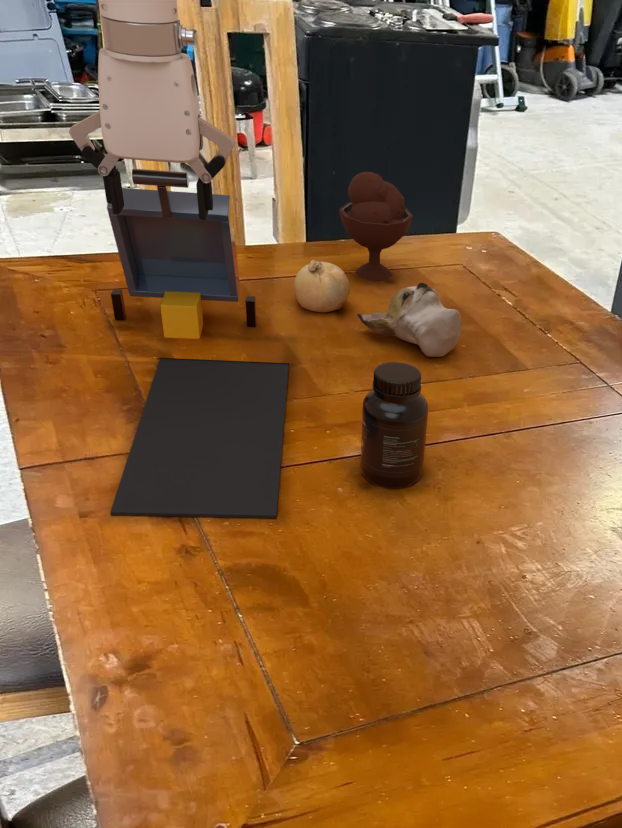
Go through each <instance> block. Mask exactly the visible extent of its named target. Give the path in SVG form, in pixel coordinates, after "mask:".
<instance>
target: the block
mask: <svg viewBox="0 0 622 828" xmlns="http://www.w3.org/2000/svg"><path fill="white" fill-rule="evenodd" d="M161 299H162V300H161V302H160V304H159V307H160V313H161V322H162V330H163V338H168V339H169V338H171V339H191V340H200V339H201V335H202V331H203V328H204V317H203V306H202V305H203V304H202V300H201V293H191V292H173V291H165V294H164V296H163V298H161Z"/></svg>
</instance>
